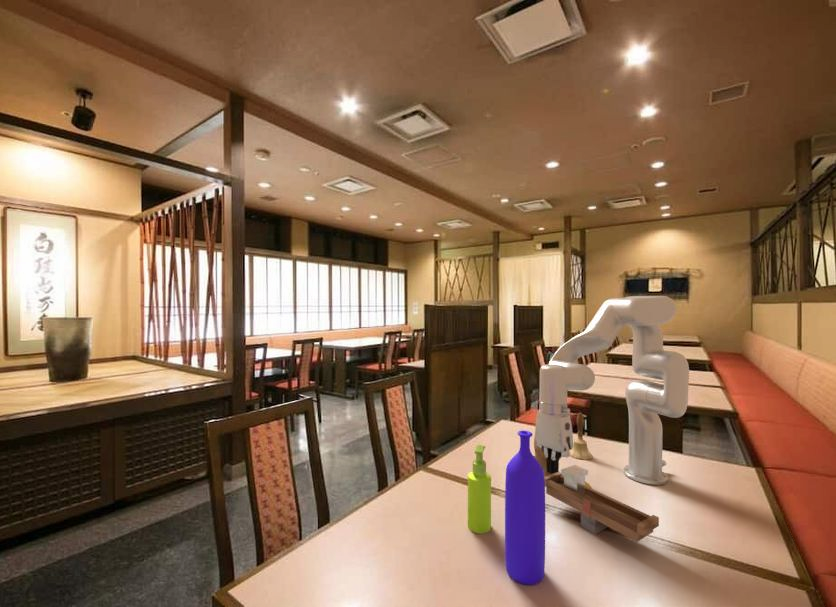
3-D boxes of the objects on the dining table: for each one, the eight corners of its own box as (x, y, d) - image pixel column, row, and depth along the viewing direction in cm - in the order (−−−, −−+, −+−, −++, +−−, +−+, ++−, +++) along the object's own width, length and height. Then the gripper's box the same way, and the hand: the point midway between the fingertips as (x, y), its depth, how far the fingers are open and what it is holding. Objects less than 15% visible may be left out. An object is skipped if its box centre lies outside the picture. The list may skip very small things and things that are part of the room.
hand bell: (564, 451, 145) (564, 410, 145) (584, 450, 146) (584, 409, 146) (575, 460, 137) (575, 416, 137) (597, 459, 138) (597, 416, 138)
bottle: (499, 560, 84) (500, 426, 84) (535, 557, 85) (536, 425, 85) (512, 588, 76) (512, 440, 76) (551, 585, 76) (552, 438, 76)
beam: (559, 498, 110) (559, 471, 110) (659, 551, 87) (659, 517, 87) (542, 505, 106) (542, 477, 106) (642, 563, 83) (642, 527, 83)
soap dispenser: (492, 520, 99) (493, 444, 99) (489, 535, 93) (489, 454, 93) (471, 515, 101) (471, 442, 101) (465, 530, 95) (465, 451, 95)
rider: (574, 486, 105) (574, 464, 105) (587, 492, 102) (587, 470, 102) (561, 492, 102) (561, 469, 102) (573, 499, 98) (573, 475, 98)
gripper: (584, 412, 103) (584, 479, 103) (541, 400, 116) (540, 459, 116) (567, 416, 99) (566, 486, 99) (523, 403, 112) (523, 465, 112)
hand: (552, 471), depth 108 cm, fingers closed
